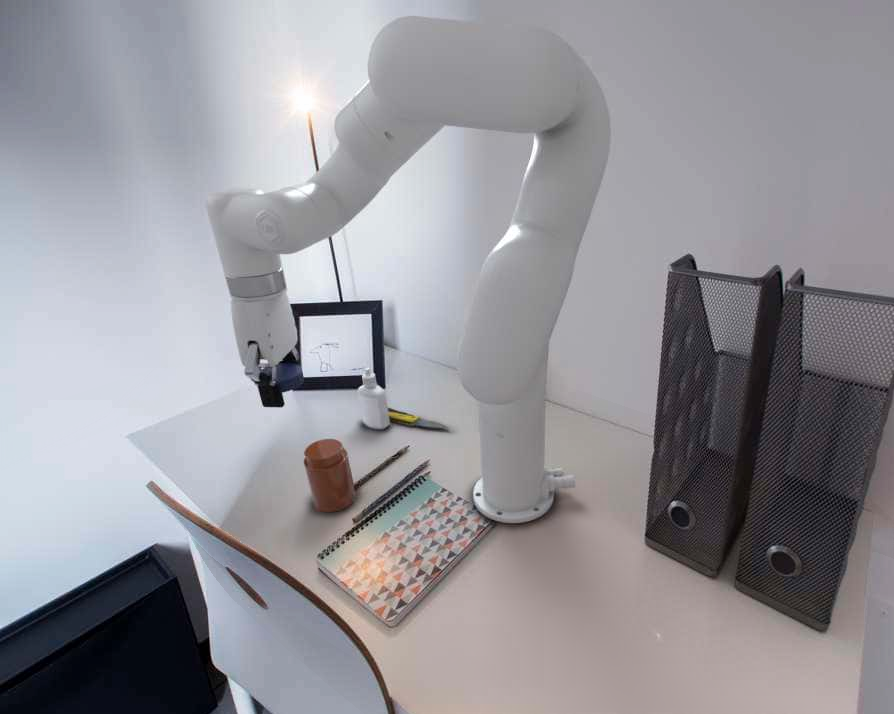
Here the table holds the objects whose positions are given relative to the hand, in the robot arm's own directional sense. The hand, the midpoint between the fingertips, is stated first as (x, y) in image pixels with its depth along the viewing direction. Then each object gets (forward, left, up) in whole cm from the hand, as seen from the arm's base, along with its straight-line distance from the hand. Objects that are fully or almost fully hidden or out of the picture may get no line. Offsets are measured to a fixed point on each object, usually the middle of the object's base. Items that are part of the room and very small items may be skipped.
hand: (283, 393), depth 83 cm
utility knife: (-19, -13, -15) cm, 27 cm away
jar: (-6, +8, -15) cm, 18 cm away
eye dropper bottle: (-11, -14, -15) cm, 23 cm away
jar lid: (0, 0, +3) cm, 3 cm away
